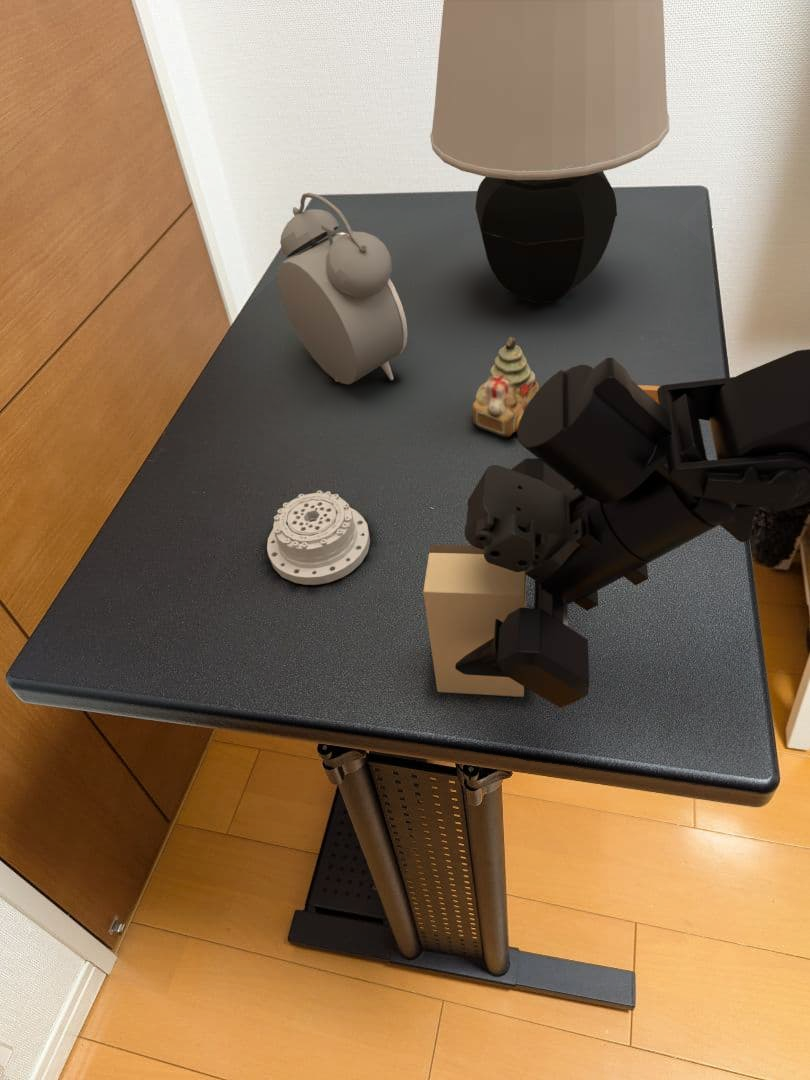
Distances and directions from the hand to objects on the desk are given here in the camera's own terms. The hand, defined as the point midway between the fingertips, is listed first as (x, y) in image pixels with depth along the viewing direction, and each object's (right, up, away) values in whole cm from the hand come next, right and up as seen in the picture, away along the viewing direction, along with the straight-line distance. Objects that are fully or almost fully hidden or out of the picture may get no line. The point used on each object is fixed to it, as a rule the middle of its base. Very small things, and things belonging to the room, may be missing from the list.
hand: (464, 619), depth 59 cm
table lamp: (+14, +39, +45) cm, 61 cm away
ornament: (+7, +20, +28) cm, 34 cm away
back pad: (+2, -5, +5) cm, 7 cm away
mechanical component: (-13, +5, +17) cm, 22 cm away
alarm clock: (-11, +27, +37) cm, 47 cm away
